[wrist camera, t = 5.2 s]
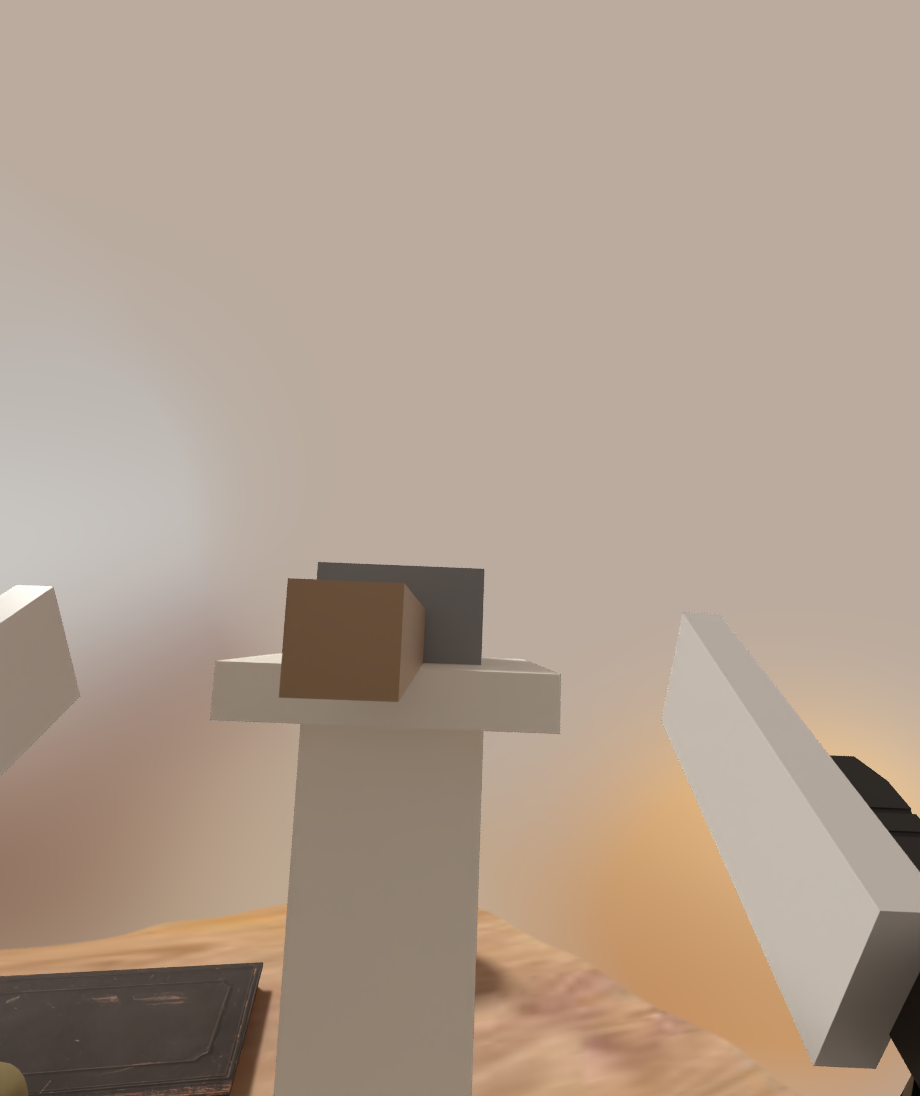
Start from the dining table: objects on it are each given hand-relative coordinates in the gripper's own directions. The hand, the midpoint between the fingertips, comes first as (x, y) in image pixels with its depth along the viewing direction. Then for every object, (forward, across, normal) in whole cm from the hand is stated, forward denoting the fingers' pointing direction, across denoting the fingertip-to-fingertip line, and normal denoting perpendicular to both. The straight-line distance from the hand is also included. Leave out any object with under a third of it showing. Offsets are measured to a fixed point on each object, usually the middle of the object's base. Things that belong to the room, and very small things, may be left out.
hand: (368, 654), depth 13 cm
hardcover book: (+14, -24, -45) cm, 53 cm away
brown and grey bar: (+8, -1, -5) cm, 9 cm away
